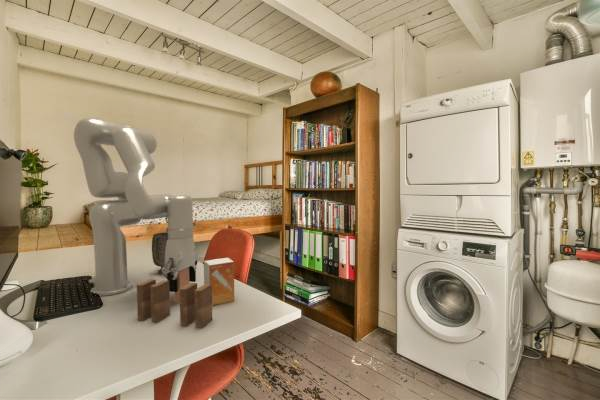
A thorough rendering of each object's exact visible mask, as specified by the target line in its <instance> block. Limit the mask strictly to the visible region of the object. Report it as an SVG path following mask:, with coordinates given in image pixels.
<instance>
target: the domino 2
mask: <svg viewBox="0 0 600 400" xmlns="http://www.w3.org/2000/svg"><path fill="white" fill-rule="evenodd" d="M170 293H171V292H170V288H169V281H167V279H166V280H165V279H163V280H160V281H159V282H156V284H154V285H152V286H151V316H152V317H151V323H156V324H158V323H160V322H161V321H163V320H164V319H167V318H168V317H169V316H171V294H170Z"/></svg>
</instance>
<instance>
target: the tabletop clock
mask: <svg viewBox="0 0 600 400" xmlns="http://www.w3.org/2000/svg"><path fill="white" fill-rule="evenodd" d="M165 222H166V223H167V224H168V218H167V217H165ZM167 240H169V239H168V226H167V227H166V230H165V231H163V232H157V233H155V234H152V239H151V256H152V262H153V265H155V266H156V267H159V268H160V269H158V270H157V274H161V273H163V272H162V268H163V266H164V265H165V249H166V243H167Z"/></svg>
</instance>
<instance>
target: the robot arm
mask: <svg viewBox="0 0 600 400" xmlns="http://www.w3.org/2000/svg"><path fill="white" fill-rule="evenodd" d="M73 141H74V144H75V145H74V146H75V148H76V150H77V152H78V154H79V156H80V159H81V162H82V166H83V171H84V175H85V179H86V185H87V188H88V191H89V193H90V195H92V196H93V197H94V198H99V199H110V198H111V199H112V198H113V199H115V198H118V200H108V201H107V200H106V201H100V202H98V203H96V204H93V206H92V207H91V208H90V209H89V212H88V217H89V222H90V225H91V229H92V234H93V235H92V236H93V249H94V271H95V275H94V276H93V277H91V279H89V280H88V283H89V284H93V287H92V288H91V289H90V293H91V292H93V293H97V294H99V296H98V297H102V296H104V297H105V296H106V297H107V296H111V295H112V296H113V295H118V294H121V293H124V292H126V291H129V290H130V289H132V288H133V286H134V285H133V281H130V280H128V256H127V253H128V252H127V239H126V235H125V233H124V232H123V231H122V229H121V227H127V226H131V225H136V224H138V223H140V222H141V221H142V220H153V219H154V220H155V219H161V218H166V217H167V221H168V223H167V227H168V239H169V240H167V243H166V249H165V265H164V266H163V268H162V270H161V271H162V272H161V273H162V274H163V276H164V277H165V279H166V280H167V281H169V288H170V293H175V292H177V291H178V280H177V279H176V277H177V274H178V272H179V271H181V270H184V269H186V268H188V267H189V283H196V281H197V275H196V273H197V272H196V270H197V265H198V259H199V254H197V253H196V246H195V240H194V239H195V238H194V220H193V219H194V215H193V213H194V212H193V211H194V210H193V199H192V197H191V196H190V195H187V194H186V195H184V194H183V195H181V194H179V195H172V194H148V192H147V189H146V188H145V186H144V184H143V177H146V176H147V175H149V174H150V173H152V172H153V171H154V170H155V167H156V166H155V161H154V160H153V158H152V156H151V154H153V153H154V152H155V151H156V150H157V144H158V143H157V140H156V138H155V136H154V135H153V133H151V132H150V131H147V130H144V129H141V128H137V127H134V126H130V125H128V124H123V123H119V122H116V121H111V120H106V119H103V118H102V119H101V118H96V117H86V118H82V119H80V120H79V121H78V122H77V123H76V124H75V127H74V130H73ZM102 145H104V146H105V145H106V146H113V147H114V148H115V149H116V152H117V154H118V155H119V158H120V160H121V162H122V164H123V165H124V168H125V170H126V171H127V172H124V171H116V170H115V169H114V166H113V162H112V159H111V157H110V154H108V152H107V151H106V150H105V148H103V146H102Z"/></svg>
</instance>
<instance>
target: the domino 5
mask: <svg viewBox="0 0 600 400" xmlns="http://www.w3.org/2000/svg"><path fill="white" fill-rule="evenodd" d="M212 321H213V306H212V284H204V283H203V284H202V285H201V286H199V287H197V289H196V290H195V321H194V323H195V324H194V325H195V329H196V328H197V329H204V328H205V327H206V326H207V325H209V324H210V323H211V322H212Z"/></svg>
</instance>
